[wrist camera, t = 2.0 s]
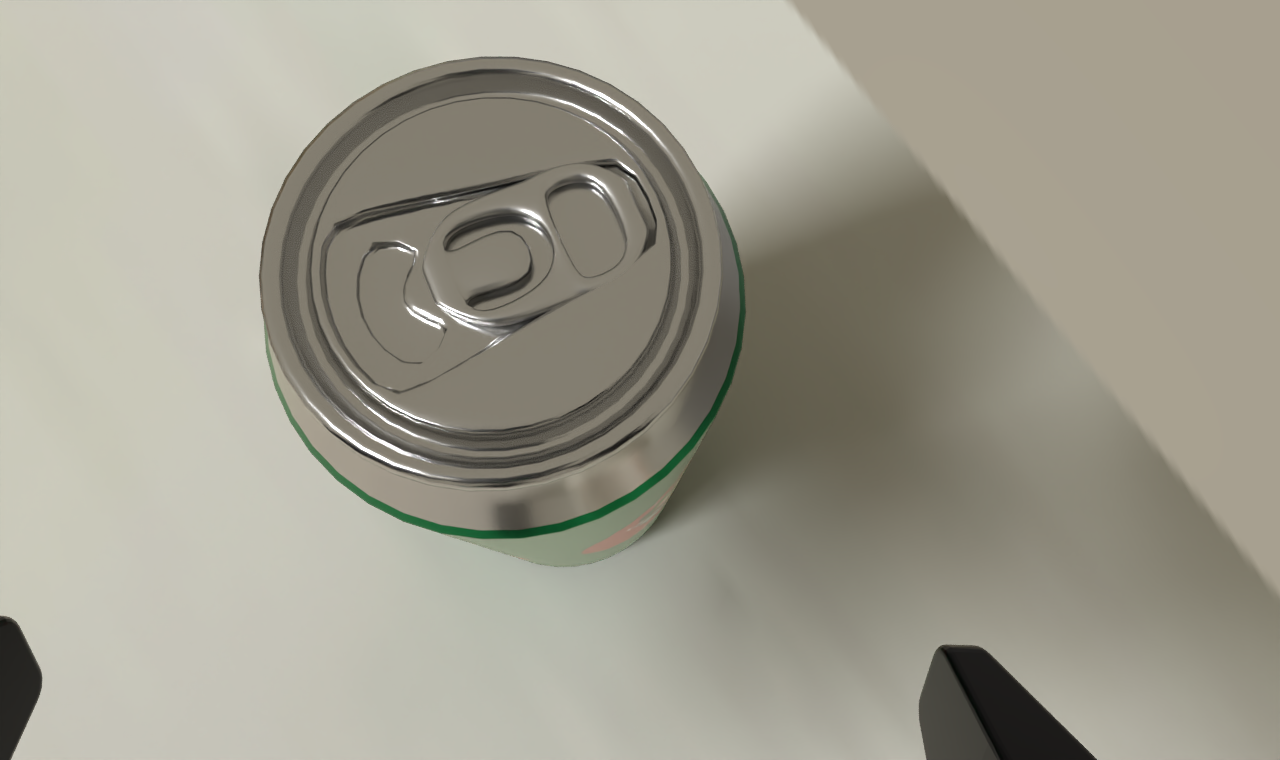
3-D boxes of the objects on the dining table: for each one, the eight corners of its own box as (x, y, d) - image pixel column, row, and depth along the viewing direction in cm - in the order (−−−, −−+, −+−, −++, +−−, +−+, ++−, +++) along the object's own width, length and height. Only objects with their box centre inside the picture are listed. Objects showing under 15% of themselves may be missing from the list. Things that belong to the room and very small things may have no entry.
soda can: (425, 399, 20) (147, 124, 8) (624, 318, 20) (634, -46, 9) (504, 604, 19) (316, 629, 7) (711, 513, 19) (857, 395, 8)
